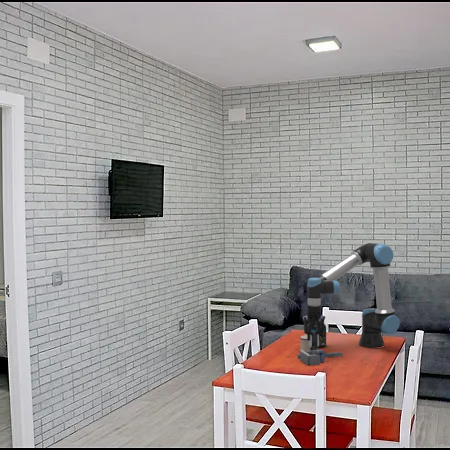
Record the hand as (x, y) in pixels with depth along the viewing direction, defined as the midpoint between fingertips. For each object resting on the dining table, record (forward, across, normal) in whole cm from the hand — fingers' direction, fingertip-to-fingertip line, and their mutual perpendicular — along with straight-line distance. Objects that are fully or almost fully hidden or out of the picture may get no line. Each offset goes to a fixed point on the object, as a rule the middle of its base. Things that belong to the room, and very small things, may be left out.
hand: (313, 345), depth 344 cm
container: (+7, -14, -27) cm, 31 cm away
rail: (+7, -4, 0) cm, 8 cm away
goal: (+7, +6, +10) cm, 14 cm away
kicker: (+6, 0, +5) cm, 8 cm away
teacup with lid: (+7, -2, -14) cm, 16 cm away
